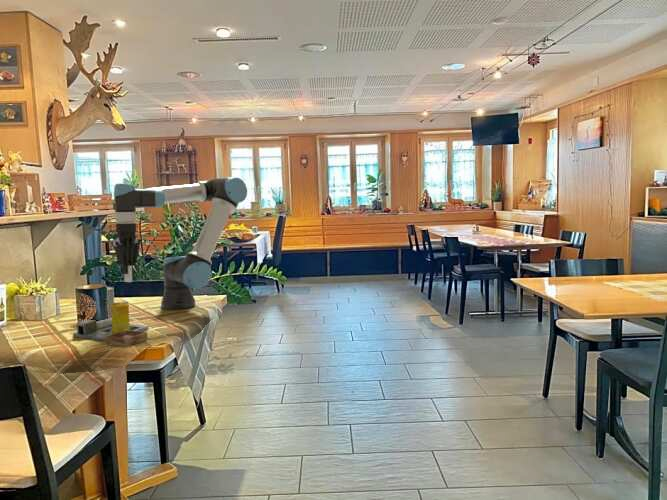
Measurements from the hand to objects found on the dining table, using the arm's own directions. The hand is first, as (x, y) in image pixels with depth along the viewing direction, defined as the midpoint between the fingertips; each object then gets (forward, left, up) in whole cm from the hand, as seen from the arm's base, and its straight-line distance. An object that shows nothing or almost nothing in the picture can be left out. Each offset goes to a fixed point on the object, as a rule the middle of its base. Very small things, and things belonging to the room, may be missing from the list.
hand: (128, 281), depth 199 cm
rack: (+21, +20, -17) cm, 33 cm away
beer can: (-1, -17, -17) cm, 24 cm away
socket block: (+15, +6, -17) cm, 23 cm away
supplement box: (+13, +9, -17) cm, 23 cm away
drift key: (+12, 0, -15) cm, 19 cm away
